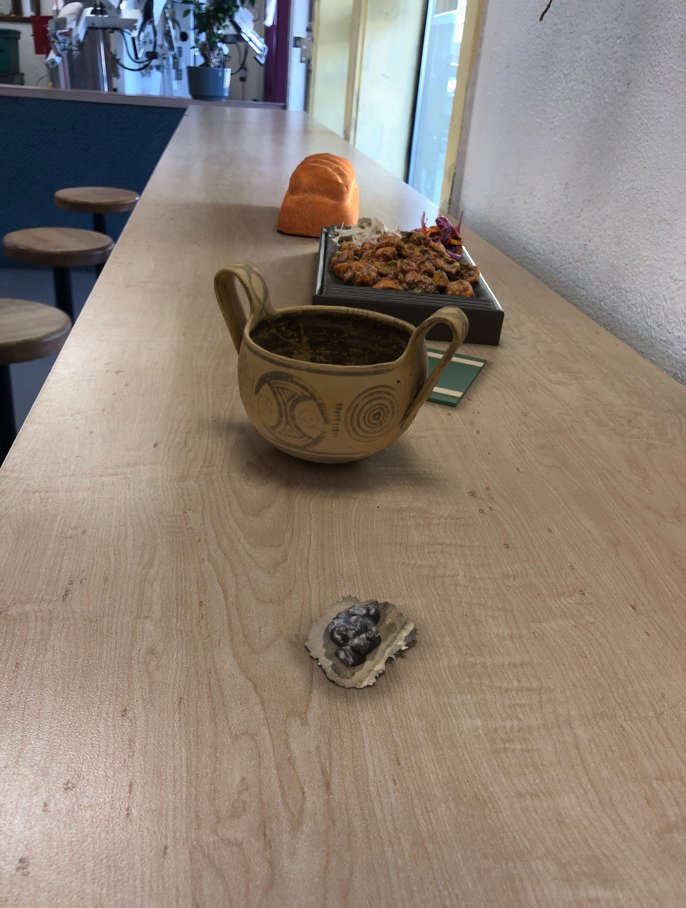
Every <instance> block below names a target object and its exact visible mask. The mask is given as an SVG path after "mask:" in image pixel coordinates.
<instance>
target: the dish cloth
mask: <svg viewBox="0 0 686 908" xmlns="http://www.w3.org/2000/svg"><path fill="white" fill-rule="evenodd" d="M426 348H427V354H428V377H429V375H430V374H431V372H432V371H433V369H434V368H435V366H436V365H437V364H438V362H439V361H440V359H441V358H442V356H443V355H444V354H445V352H446V351H447V350H442V349H436V348H430V347H427V346H426ZM487 361H488V360H487V359H486V358H480V357H476V356H475V357H474V356H471V355H467V354H466V355H465V354H460V353H457V352H456V353H455V355H454V356H453V358H452V359H451V361H450V362H449V364H448V366H447V367H446V369H445V370H444V372H443V374H442V375H441V377H440V378H439V380H438V382H437V384H436V386H435V387H434V389H433V391H432V393H431V395H430V396H429V397H428V399H427V400H426V401H428V402H432V403H435V404H436V403H437V404H440V405H445V406H450V407H456V406H457V405H458V404H459V402H460V401H461V399H462V398H463V396H464V395H465V393H466V392H467V391H468V389H469V388H470V386H471V385H472V384H473V382H474V381H475V379H476V378H477V377H478V375H479V374H480V372H481V371H482V369H484V367H485V365H486V364H487Z"/></svg>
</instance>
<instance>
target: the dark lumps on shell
mask: <svg viewBox="0 0 686 908" xmlns="http://www.w3.org/2000/svg"><path fill="white" fill-rule="evenodd" d="M323 612H324V613H323V614H322V615H321V617H320V616H317V618H316V620H317V622H313V624H311V625H310V628H309V630H308V635H307V640H306V642H304V646H305V647H306V648H307V650H308V651H309V656H310V657H312V658H313V659H317V661H318V663H317V665H318V666H319V665H320V666H322V667H321V669H322V670H323V672H325V674H326V677H327V678H328V679H329V680H330V681H334V684H335V685H336V686H337V685H338V686H339V687H344V688H345V689H351V688H355V689H363V688H365V687H367V686H373V684H374V683H376V682H377V679H376V677H379V675H381V674H383V673H384V671H385V672H386V671H387V670H386V669H387V668H386V662H387V660H388V657H391V658H392V659H394V661H397V659H396V655H395V654H397V652H398V651H399V650H402V651H403V650H405V649H408V648H409V647H408V646H407V644H409V643H412V642H413V640H414V641H415V640H417V639H418V637H417V636H418V635H419V633H418V629H417V627H416V624H414V622H412V620H410V618H407V617H406V618H405V617H404V616H403V612H402V611H398V607H397V606H396V605H395V603H390V602H389V601H383V602H379V600H377V598H376V599H373V598H372V599H370V598H368V600H367V599H365V601H361V600H360V599H359V598H358V597H357V596H352V594H351V593H349V594H348V595H347V596H345V595H343V596H341V600H337V601H335V602H334V603H332V604H330V605H329V606H327V607H326V608H324V609H323Z"/></svg>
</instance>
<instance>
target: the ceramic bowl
mask: <svg viewBox="0 0 686 908" xmlns="http://www.w3.org/2000/svg"><path fill="white" fill-rule="evenodd" d="M236 279H237V280H238V281H239V282H240V284H241V286H242V287H243V289H244V293H245V295H246V298H247V300H248V305H249V318H247V314H246V312H245V309H244V306H243V303H242V299H241V298H240V297H241V296H240V294H239V291H238V288H237V284H236ZM213 291H214V295H215V298H216V303H217V304H218V307H219V310H220V312H221V315H222V317H223V320H224V322H225V325H226V327H227V330H228V332H229V336H230V338H231V340H232V343H233V346H234V349H235V351H236V353H237V369H236V370H237V384H238V391H239V397H240V399H241V402H242V406H243V408H244V411H245V413H246V416H247V418H248V420H249V421H250V423H251V424H252V426H253V427H254V429H255V430H256V431H257V432H258V433H259V434H260V435H261V436H262V438H264V440H266V441H267V442H268V443H270V444H271V445H272V446H274V447H275V448H276V449H278V450H279V451H282V452H283V453H286V454H287V455H289V456H292V457H294V458H298V459H301V460H304V461H308V462H311V463H318V464H319V463H320V464H326V465H327V464H329V465H330V464H331V465H332V464H346V463H350V462H357V461H360V460H362V459H363V460H364V459H366V458H369V457H371V456H373V455H376V454H378V453H380V452H381V451H383V450H385V449H386V448H388V447H390V446H391V445H392V444H393V443H395V442H396V441H397V440H398V439H399V438H401V436H402V435H404V434H405V433H406V431H408V429H409V428H410V426H411V425H412V423H413V422H414V420H415V419H416V417H417V415H418V413H419V411H420V409H421V408H422V406H423V405H424V404H425V403H426V401H427V399H428V397H429V396H430V395H431V393H432V391H433V389H434V387H435V386H436V384H437V382H438V380H439V378H440V377H441V375H442V374H443V372H444V370H445V369H446V367H447V366H448V364H449V362H450V361H451V359H452V358H453V356H454V355H455V353H456V354H457V352H458V350H459V349H460V347H461V346H462V344H464V343H463V341H464V339H465V337H466V335H467V332H468V326H469V322H468V318H467V316H466V315H465V314H464V313H463V312H462V311H461V309H459V308H457V307H444V308H442V309H440V310H438V311H437V312H435V313H434V314H433V315H432V316H431V317H430V318H428V319H427V320H425V321H424V322H423V323H422V324H421V325H419V326H418V327H417V328H415V327H414V326H413V325H411V324H409V323H407V322H405V321H402V320H400V319H397V318H394V317H392V316H389V315H385V314H381V313H377V312H373V311H369V310H363V309H356V308H350V307H341V306H320V305H316V306H312V304H311V305H310V304H309V305H294V306H285V307H282V308H275V307H274V306H273V303H272V301H271V300H272V299H271V296H270V291H269V287H268V285H267V282H266V280H265V278H264V276H263V274H262V273H261V271H260V270H258V269H257V268H256V267H255V265H253V264H251V263H249V262H245V261H238V262H234V263H231V264H229V265H227V266H223V267H222V268H220V269H219V270H218V271H217V272H215V274H214V277H213ZM442 322H443V323H446V324H447V325H448V326H449V327H450V328H451V330H452V332H453V340H452V342H451V341H450V344H449V346H448V347H447V349H446V350H445V351H446V352H445V354H444V355H443V356H442V358H441V359H440V361H439V362H438V364H437V365H436V366H435V368H434V369H433V371H432V372H431V374H430V375H429V377H428V354H427V348H428V347H427V339H425V336H426V334H427V332H428V331H429V330H430V329H431V328H432V327H433V326H434V325H435V324H436V323H442ZM426 347H427V348H426Z"/></svg>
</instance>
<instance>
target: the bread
mask: <svg viewBox="0 0 686 908" xmlns="http://www.w3.org/2000/svg"><path fill="white" fill-rule="evenodd" d="M355 173H356V172H355V169H354V165H353V164H352V163H351V162H350V161H349V160H348V159H346V158H344V157H341V156H338V155H335V154H333V153H329V152H323V153H322V152H321V153H320V152H319V153H313V154H311V155H308V156H306V157H304V159H303V160H301V162H300V163H299V164H298V165H297V166H296V168H295V169H294V170H293V171H292V173H291V175H290V177H289V181H288V187H287V188H288V189H286V191H285V194H284V196H283V200H282V203H281V205H280V208H279V211H278V215H277V219H276V225H277V230H278V231H280V232H282V233H284V234H288V235H293V236H294V235H295V236H303V237H313V238H320V233H321V228H322V227H329V226H330V225H341V226H342V224H343V222H344V224H343V226H350V224H351V225H352V226H353V225H356V224H357V221H358V219H359V214H360V194H359V188H358V186H357V183H356V174H355Z"/></svg>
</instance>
